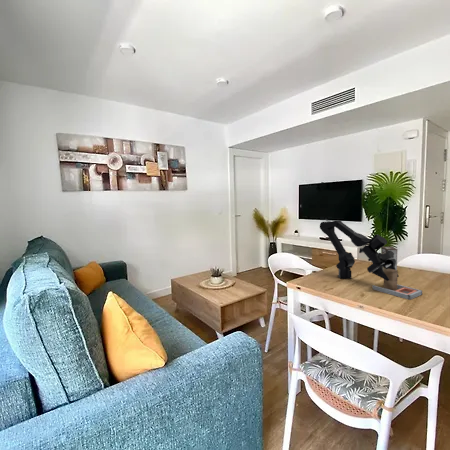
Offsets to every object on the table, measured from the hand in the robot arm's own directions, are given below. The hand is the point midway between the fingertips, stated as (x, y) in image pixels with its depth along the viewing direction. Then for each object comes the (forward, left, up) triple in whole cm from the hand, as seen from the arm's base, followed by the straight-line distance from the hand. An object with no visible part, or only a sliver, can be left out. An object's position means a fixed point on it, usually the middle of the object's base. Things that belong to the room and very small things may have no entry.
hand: (393, 278), depth 132 cm
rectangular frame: (+4, -5, -7) cm, 9 cm away
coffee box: (+15, +35, -7) cm, 39 cm away
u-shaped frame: (+1, -1, -7) cm, 7 cm away
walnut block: (-1, +1, -7) cm, 7 cm away
